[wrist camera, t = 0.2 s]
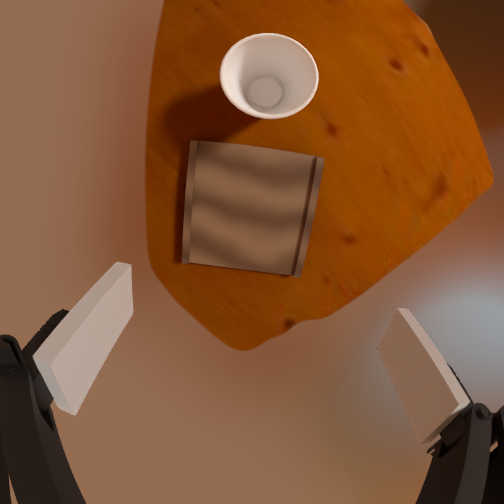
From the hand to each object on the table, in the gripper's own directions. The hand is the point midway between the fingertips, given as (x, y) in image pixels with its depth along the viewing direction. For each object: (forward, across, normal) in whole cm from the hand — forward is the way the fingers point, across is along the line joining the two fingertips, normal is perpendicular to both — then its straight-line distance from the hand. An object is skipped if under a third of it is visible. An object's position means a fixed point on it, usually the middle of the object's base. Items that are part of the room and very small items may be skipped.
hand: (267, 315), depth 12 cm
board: (+28, -1, -2) cm, 28 cm away
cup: (+28, -2, +15) cm, 32 cm away
